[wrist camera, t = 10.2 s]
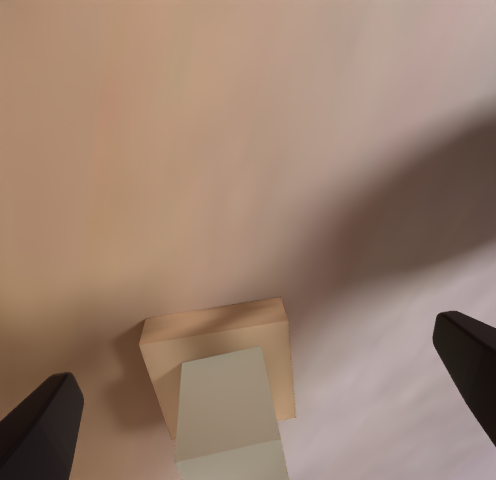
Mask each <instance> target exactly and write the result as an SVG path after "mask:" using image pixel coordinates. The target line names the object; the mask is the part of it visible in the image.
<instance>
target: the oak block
mask: <svg viewBox="0 0 496 480" xmlns="http://www.w3.org/2000/svg"><path fill="white" fill-rule="evenodd" d="M258 346H261V348H262V352H263V357H264V362H265V366H266V371H267V376H268V381H269V385H270V390H271V395H272V400H273V404H274V409H275V414H276V418H277V421H281V420H286V419H292V418H296V412H295V400H294V387H293V374H292V362H291V349H290V336H289V324H288V318H287V315H286V312H285V309H284V306H283V303H282V300H281V297H276V298H270V299H263V300H257V301H251V302H245V303H239V304H232V305H226V306H220V307H214V308H208V309H202V310H195V311H189V312H183V313H177V314H171V315H164V316H158V317H152V318H146V319H145V323H144V327H143V331H142V335H141V339H140V342H139V347H140V350H141V353H142V356H143V359H144V362H145V364H146V367H147V370H148V373H149V376H150V379H151V382H152V385H153V387H154V390H155V393H156V396H157V399H158V402H159V405H160V408H161V410H162V413H163V416H164V419H165V422H166V425H167V428H168V431H169V433H170V436H171V439H172V440H173V439H176V435H177V422H178V409H179V396H180V383H181V370H182V363H184V362H189V361H193V360H198V359H203V358H207V357H212V356H217V355H221V354H226V353H231V352H235V351H240V350H244V349H249V348H254V347H258Z"/></svg>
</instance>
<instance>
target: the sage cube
mask: <svg viewBox="0 0 496 480" xmlns="http://www.w3.org/2000/svg"><path fill="white" fill-rule="evenodd" d="M174 463H175V465H176V467H177V469H178V472H179V474H180V476H181V478H182V480H289V477H288V472H287V467H286V462H285V457H284V452H283V447H282V442H281V437H280V433H279V428H278V423H277V418H276V414H275V409H274V404H273V400H272V395H271V390H270V385H269V381H268V376H267V371H266V366H265V362H264V357H263V352H262V348H261V346H258V347H254V348H249V349H244V350H240V351H235V352H231V353H226V354H221V355H217V356H212V357H207V358H203V359H198V360H193V361H189V362H184V363H182V370H181V383H180V396H179V409H178V422H177V435H176V448H175V461H174Z"/></svg>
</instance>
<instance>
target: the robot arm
mask: <svg viewBox="0 0 496 480" xmlns="http://www.w3.org/2000/svg"><path fill="white" fill-rule="evenodd" d="M433 344H434V347H435V349H436V351H437V352H438V354H439V356H440V358H441V360H442V361H443V363H444V365H445V367H446V369H447V370H448V372H449V374H450V376H451V378H452V379H453V381H454V383H455V385H456V387H457V388H458V390H459V392H460V394H461V395H462V397H463V399H464V401H465V402H466V404H467V405H468V407H469V408H470V410H471V412H472V413H473V415H474V416H475V417H476V419H477V420H478V422H479V423H480V425H481V426H482V428H483V429H484V431H485V432H486V433H487V435H488V436H489V438H490V439H491V441H492V442H493V444H494V445H495V447H496V328H494V327H492V326H490V325H487V324H485V323H483V322H481V321H478V320H476V319H474V318H471V317H469V316H467V315H465V314H462V313H460V312H458V311H447V312H441V313H439V314H438V315H437V317H436V321H435V327H434V332H433ZM83 405H84V398H83V394H82V392H81V390H80V388H79V386H78V383H77V381H76V379H75V377H74V375H73V374H72V373H70V372H64V373H58V374H53V375H51V376H50V377H49V378H47V379H46V380H45V381H44V382H43V383H42V384H41V385H40V386H39V387H38V388H36V389H35V390H34V391H33V392H32V393H31V394H30V395H29V396H28V397H27V398H25V399H24V400H23V401H22V402H21V403H20V404H19V405H18V406H17V407H16V408H14V409H13V410H12V411H11V412H10V413H9V414H8V415H7V416H6V417H5V418H3V419H2V420H1V421H0V480H69V477H70V473H71V468H72V463H73V458H74V453H75V448H76V442H77V437H78V432H79V426H80V421H81V416H82V410H83Z"/></svg>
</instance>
